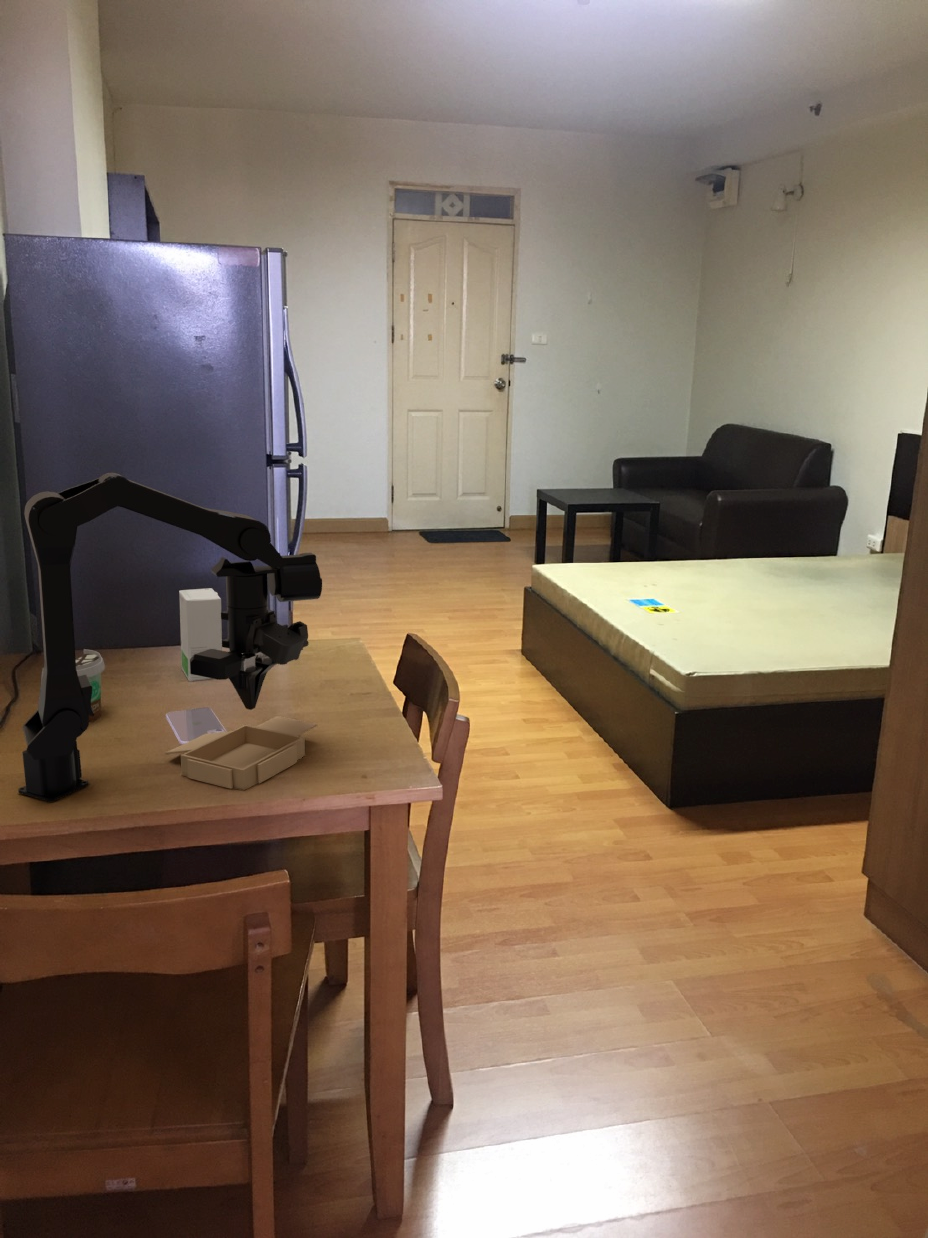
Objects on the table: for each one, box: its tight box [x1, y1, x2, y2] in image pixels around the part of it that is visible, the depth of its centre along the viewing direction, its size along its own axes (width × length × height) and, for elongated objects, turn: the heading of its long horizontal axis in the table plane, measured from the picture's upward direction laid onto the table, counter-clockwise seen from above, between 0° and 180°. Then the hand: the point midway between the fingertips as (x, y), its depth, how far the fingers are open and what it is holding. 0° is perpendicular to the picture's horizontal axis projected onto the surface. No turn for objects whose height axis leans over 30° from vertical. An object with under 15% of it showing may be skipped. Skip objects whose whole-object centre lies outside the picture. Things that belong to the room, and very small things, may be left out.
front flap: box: [255, 715, 318, 737], centre depth 148 cm, size 1×8×6 cm
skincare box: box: [178, 587, 223, 682], centre depth 180 cm, size 8×7×16 cm
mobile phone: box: [165, 706, 227, 745], centre depth 155 cm, size 8×1×15 cm
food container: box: [40, 648, 106, 723], centre depth 156 cm, size 12×6×10 cm, turn 168°
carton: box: [180, 724, 306, 792], centre depth 139 cm, size 15×12×3 cm
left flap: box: [165, 730, 232, 755], centre depth 143 cm, size 9×1×6 cm
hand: (250, 708), depth 141 cm, fingers closed
